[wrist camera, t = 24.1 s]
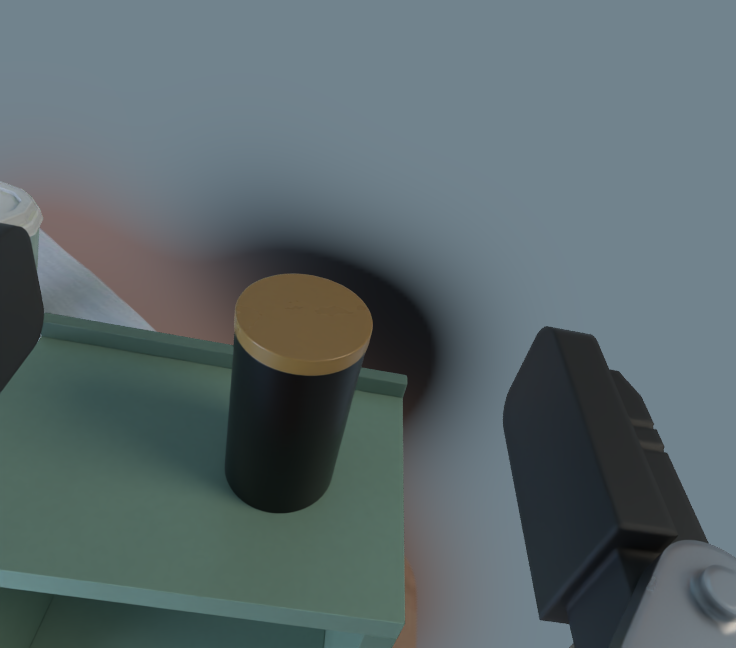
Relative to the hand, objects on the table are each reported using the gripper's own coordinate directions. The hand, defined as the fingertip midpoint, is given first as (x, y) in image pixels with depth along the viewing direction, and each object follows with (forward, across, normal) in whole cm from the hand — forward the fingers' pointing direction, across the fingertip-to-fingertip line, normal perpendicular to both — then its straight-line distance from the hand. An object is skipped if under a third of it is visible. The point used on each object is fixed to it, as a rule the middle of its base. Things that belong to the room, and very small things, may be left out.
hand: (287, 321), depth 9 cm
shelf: (+11, +4, +38) cm, 40 cm away
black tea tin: (+11, 0, +18) cm, 22 cm away
